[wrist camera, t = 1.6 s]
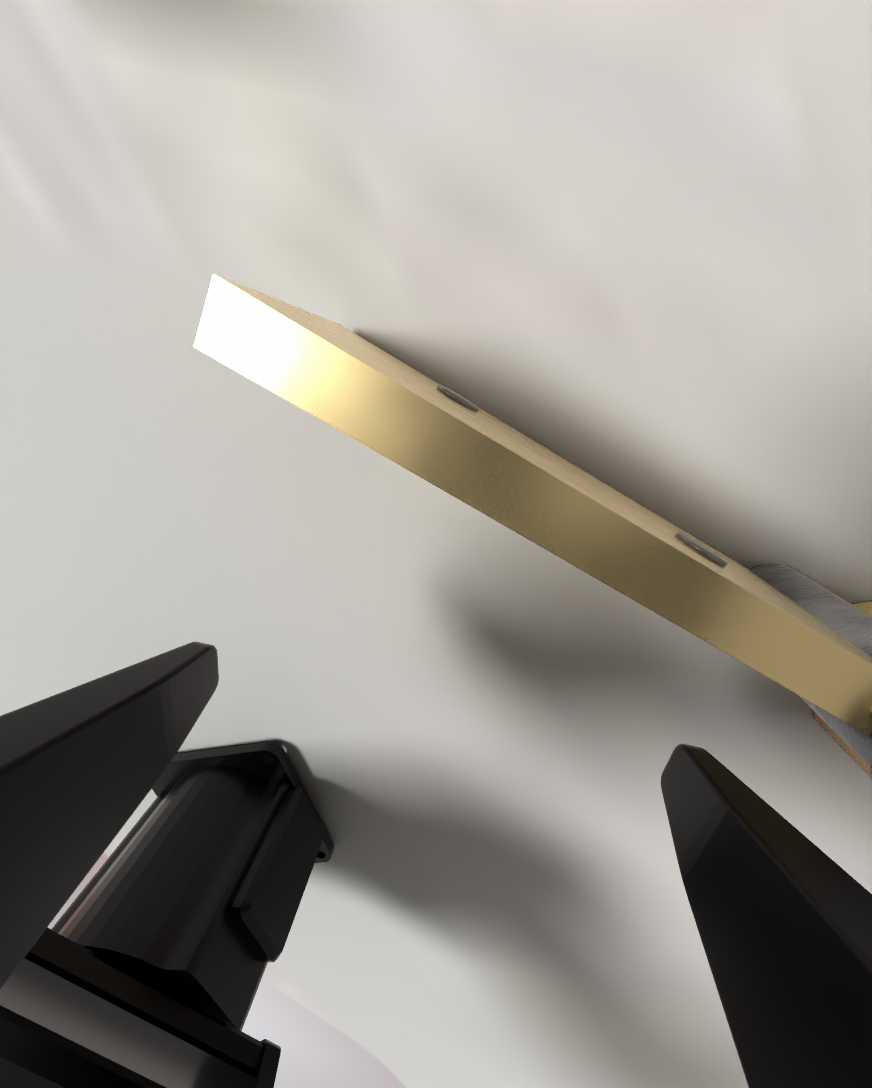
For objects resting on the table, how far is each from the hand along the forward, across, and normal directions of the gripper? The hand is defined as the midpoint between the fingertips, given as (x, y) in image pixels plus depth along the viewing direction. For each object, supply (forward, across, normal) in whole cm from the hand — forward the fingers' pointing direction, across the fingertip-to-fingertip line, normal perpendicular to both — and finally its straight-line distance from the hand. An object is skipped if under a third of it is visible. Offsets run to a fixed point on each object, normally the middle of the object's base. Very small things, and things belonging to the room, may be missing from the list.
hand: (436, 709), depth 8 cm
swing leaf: (+5, -3, -4) cm, 7 cm away
